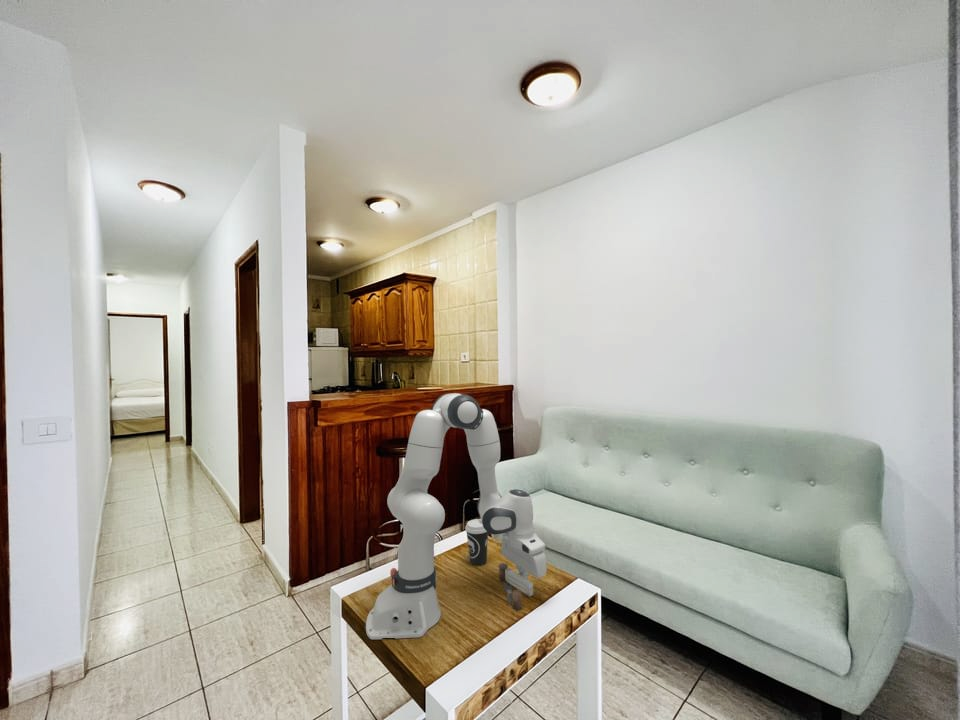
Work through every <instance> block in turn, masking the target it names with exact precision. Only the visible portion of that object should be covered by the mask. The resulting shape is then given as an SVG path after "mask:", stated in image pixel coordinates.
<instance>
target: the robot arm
mask: <svg viewBox="0 0 960 720" xmlns="http://www.w3.org/2000/svg"><path fill="white" fill-rule="evenodd" d="M451 427H452V428H456V429H457V428H458V429H462V430H464V433H465V436H466V443H467V450H468V455H469V456H470V460H471V463H472V465H473V466H474V468H475V469H476V472H477V478H478V484H479V491H480V493H479V497H478V501H477V512H478V514H479V517H480V519H481V521H482V524H483V527H484V529H485V530H486V531H487V532H488V534H491V535H495V536H497V535H501V534H502V538H501V543H500V544H501V547H500V548H501V550H500V552H501V555H502V557H504V558H505V559H507V560H508V561H510V562H511V563H513V564H515V567H516V570H517V573H518V574H519V575H521V576H522V577H524V578H526V579H527V580H529V579H528V575H529V574H530V575H531V576H533V578H536V579H541V578H543V577H544V576H546V574H547V570H548V569H547V557H546V553H545V550H546V544H545V542H544V541H542V539H540V537H539V536H538V535H537V533H536V532H535V529H534V528H535V527H534V523H533V521H534V507H533V506H534V505H533V501H532V497H531V496H530V494H529V493H528V492H526V491H525V490H522V489H516V488H515V489H510V490H509V491H508V492H507V493H506V494H505V495H504V496H502V495H501V494H500V493H499V491H498V486H497V485H498V484H497V477H496V466H497V464H498V463H499V462H500V460H501V442H500V441H501V440H500V435H499V432H498V426H497V423H496V421H495V417H494V415H493V413H492V412H491V411H489V410H488V409H486V408H481V407H480V404H479V403H478V401H477V400H476V399H475V398H474V397H472V396H470V395H469V394H462V393H458V392H455V393H454V392H452V393H444V394H442V395H440V396H439V397H438V398H437V399H436V400H435V401H434V403H433V405H431V407H430V408H429V409H423V410H421V411H420V412H418V413H417V414H416V415H415V418H414V420H413V422H412V426H411V428H410V429H411V430H410V432H409V437H408V441H407V442H408V443H407V447H406V452H405V458H404V462H403V463H404V464H403V465H402V470H401V473H400V475H399V477H398V481H397V482H396V484H395V486H394V487H393V488H391V490H390V492H389V493H388V495H387V499H386V501H387V502H386V503H387V507H388V509H389V511H390V513H391V514H392V516H393V517H394V518H395V519H397V521H400V522H401V524H402V527H403V535H402V540H401V541H400V543H399V544H398V546H397V568H396V567H392V568H391V569H390V577H391V584H389V586H387V588H386V587H385V588H386V589H384V590H382V592H380V593H379V594H378V595H377V598H376V600H375V604H374V607H373V608H372V609H371V610H370V611H369V612H368V615H367V617H366V620H365V621H366V622H365V632H366V633H365V634H366V635H367V637H368V638H369V639H370V640H383V639H382V638H395V639H411V638H421V637H423V636H424V635H425V634H426V633H427V631H428V630H429V629H431V628H433V627H434V626H435V625H436V624H437V623H438V622H439V620H440V619H441V616H442V610H441V607H440V605H439V600H438V595H437V589H436V588H437V570H436V566H435V554H434V553H435V540H436V536H437V533H438V532H439V531H440V530H441V528H442V526H443V525H444V522H445V518H446V517H445V516H446V513H445V511H446V510H445V509H444V506H443V505H442V504H441V503H440V502H439V499H437V498H436V497H434V496H433V495H431V494H429V493H428V489H429V486H430V483H431V481H432V479H433V478H434V477H436V476H437V475H438V473H439V471H440V466H441V460H442V454H443V448H444V440H445V436H446V433H447V432H448V430H449V429H450V428H451ZM372 613H373V614H372Z"/></svg>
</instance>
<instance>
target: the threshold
mask: <svg viewBox="0 0 960 720" xmlns="http://www.w3.org/2000/svg"><path fill="white" fill-rule="evenodd" d="M502 588H503V589H504V591H505V593H506V594H507V590H511V592H512V601H513V591H514V590H513V588H512V585H511V584H510V583H508V582H507V583H504V584H503V583H502Z"/></svg>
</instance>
